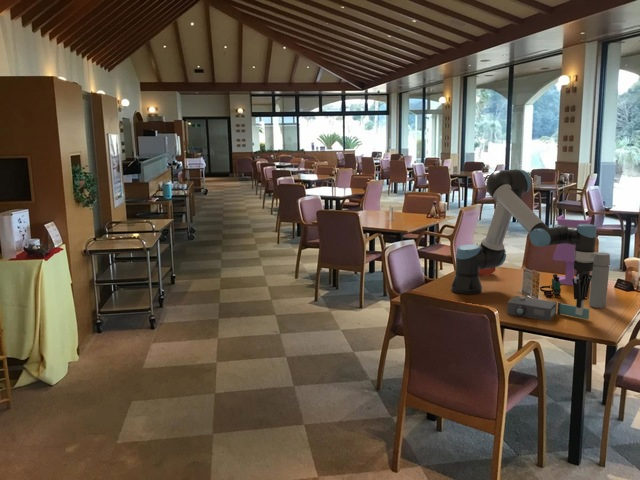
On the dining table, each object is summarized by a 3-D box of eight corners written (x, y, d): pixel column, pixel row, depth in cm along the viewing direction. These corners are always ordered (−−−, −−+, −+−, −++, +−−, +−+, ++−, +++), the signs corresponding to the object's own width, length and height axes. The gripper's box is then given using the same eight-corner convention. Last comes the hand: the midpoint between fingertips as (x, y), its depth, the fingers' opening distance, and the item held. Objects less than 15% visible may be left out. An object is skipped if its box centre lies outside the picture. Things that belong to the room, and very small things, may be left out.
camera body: (505, 315, 250) (506, 301, 249) (515, 307, 261) (515, 294, 260) (548, 322, 240) (549, 308, 238) (556, 314, 251) (557, 300, 250)
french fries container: (495, 275, 321) (496, 244, 318) (476, 275, 321) (477, 244, 318) (493, 273, 325) (494, 242, 322) (474, 273, 326) (475, 242, 322)
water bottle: (605, 309, 256) (610, 256, 252) (586, 307, 260) (591, 254, 256) (607, 304, 264) (612, 252, 259) (589, 302, 268) (593, 250, 263)
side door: (587, 320, 242) (588, 308, 241) (556, 314, 251) (557, 302, 250) (589, 319, 243) (590, 307, 242) (558, 313, 252) (559, 301, 251)
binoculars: (538, 274, 282) (559, 273, 280) (539, 294, 284) (560, 293, 282) (541, 278, 274) (563, 277, 272) (542, 299, 275) (564, 298, 273)
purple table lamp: (587, 281, 306) (592, 217, 300) (582, 287, 293) (588, 221, 287) (556, 277, 315) (560, 215, 308) (551, 283, 302) (555, 218, 295)
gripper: (585, 264, 232) (580, 319, 236) (599, 260, 240) (594, 313, 244) (567, 261, 238) (563, 315, 242) (582, 257, 246) (577, 309, 250)
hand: (579, 314), depth 243 cm, fingers closed
